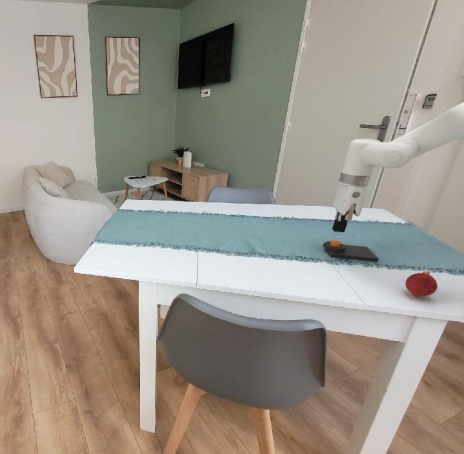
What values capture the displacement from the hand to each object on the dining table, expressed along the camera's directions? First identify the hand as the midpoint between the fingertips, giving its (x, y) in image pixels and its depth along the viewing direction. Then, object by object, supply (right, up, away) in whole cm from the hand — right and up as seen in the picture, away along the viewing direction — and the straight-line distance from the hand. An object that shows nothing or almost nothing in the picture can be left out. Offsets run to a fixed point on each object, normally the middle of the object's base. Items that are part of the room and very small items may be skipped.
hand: (338, 230), depth 100 cm
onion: (+4, -18, -21) cm, 28 cm away
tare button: (+1, -5, +2) cm, 6 cm away
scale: (+5, -8, +1) cm, 10 cm away
